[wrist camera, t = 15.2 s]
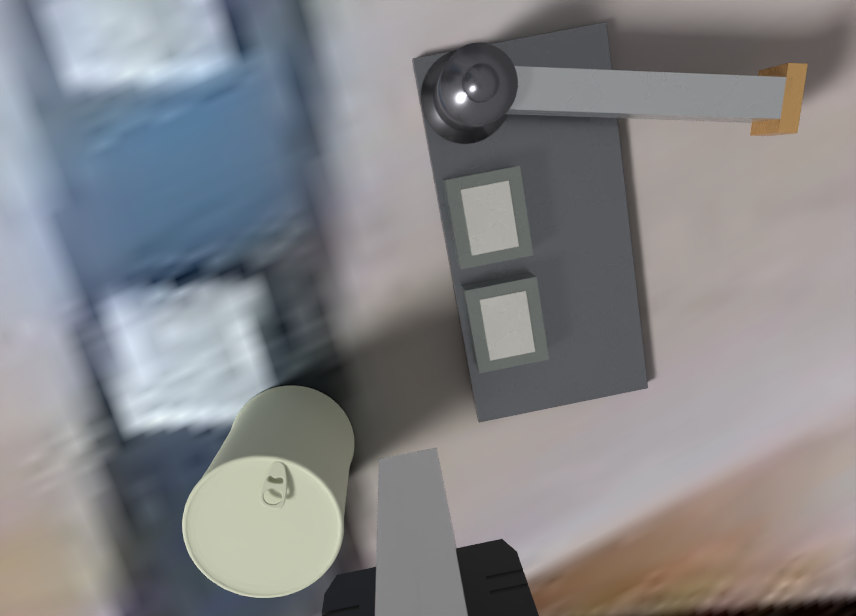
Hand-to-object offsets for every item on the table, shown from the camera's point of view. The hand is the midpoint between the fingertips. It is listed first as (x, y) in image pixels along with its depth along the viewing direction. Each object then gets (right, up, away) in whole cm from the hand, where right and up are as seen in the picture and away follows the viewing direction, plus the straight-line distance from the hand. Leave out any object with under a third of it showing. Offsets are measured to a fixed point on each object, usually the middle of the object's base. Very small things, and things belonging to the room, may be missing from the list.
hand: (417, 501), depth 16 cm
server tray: (+8, +10, +28) cm, 31 cm away
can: (-10, -5, +31) cm, 33 cm away
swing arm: (+12, +19, +25) cm, 34 cm away
